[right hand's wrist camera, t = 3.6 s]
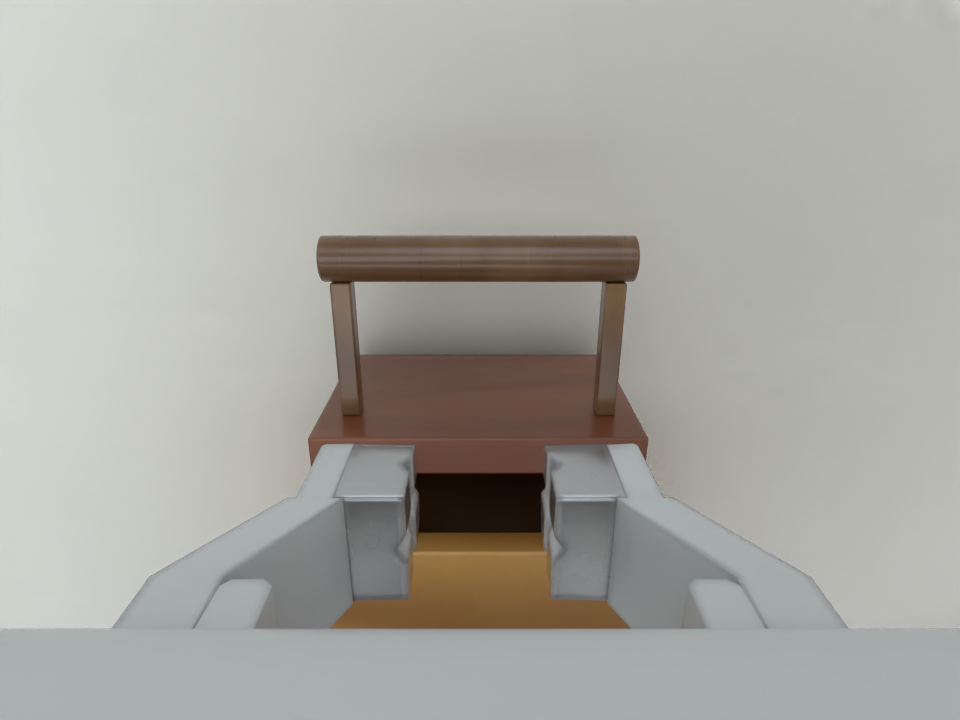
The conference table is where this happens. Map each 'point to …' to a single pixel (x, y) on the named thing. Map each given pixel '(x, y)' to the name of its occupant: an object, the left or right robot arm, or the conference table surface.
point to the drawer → (478, 376)
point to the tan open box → (480, 589)
